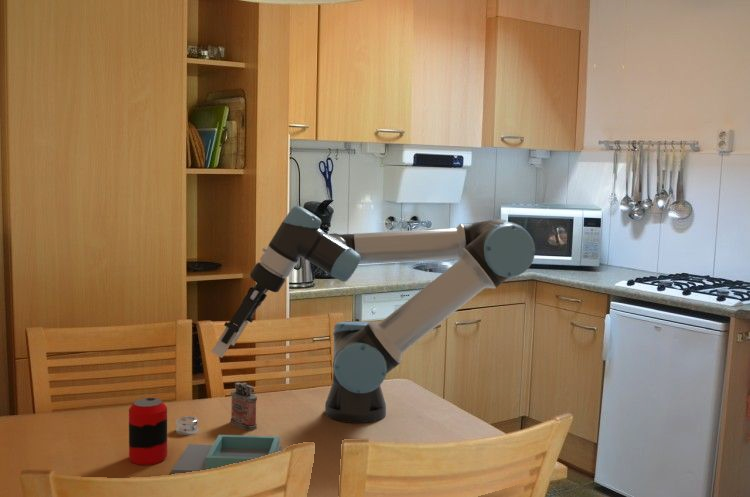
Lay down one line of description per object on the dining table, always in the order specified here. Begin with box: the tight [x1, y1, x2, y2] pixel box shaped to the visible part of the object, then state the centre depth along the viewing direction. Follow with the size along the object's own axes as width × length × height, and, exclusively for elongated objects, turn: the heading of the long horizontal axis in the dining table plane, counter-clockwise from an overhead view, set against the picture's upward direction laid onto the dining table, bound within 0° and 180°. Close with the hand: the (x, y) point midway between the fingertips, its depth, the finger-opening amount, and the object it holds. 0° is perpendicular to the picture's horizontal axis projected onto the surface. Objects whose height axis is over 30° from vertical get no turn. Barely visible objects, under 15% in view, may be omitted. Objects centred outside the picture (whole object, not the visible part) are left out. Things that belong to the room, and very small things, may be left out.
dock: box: [171, 434, 283, 475], centre depth 162 cm, size 20×14×4 cm
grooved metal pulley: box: [175, 415, 200, 436], centre depth 180 cm, size 5×3×5 cm
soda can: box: [128, 397, 168, 466], centre depth 163 cm, size 8×8×12 cm
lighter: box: [230, 382, 258, 431], centre depth 185 cm, size 8×3×10 cm, turn 47°
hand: (222, 348), depth 179 cm, fingers open, 13 cm apart
